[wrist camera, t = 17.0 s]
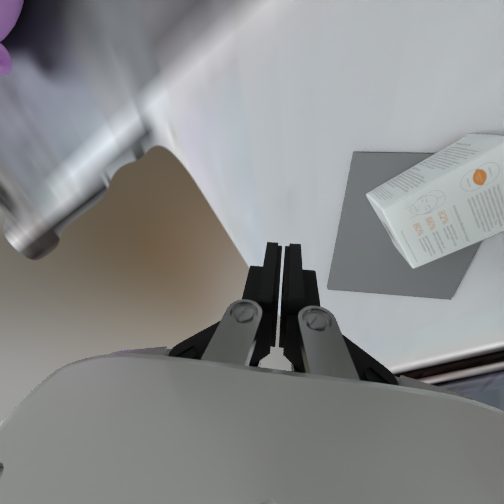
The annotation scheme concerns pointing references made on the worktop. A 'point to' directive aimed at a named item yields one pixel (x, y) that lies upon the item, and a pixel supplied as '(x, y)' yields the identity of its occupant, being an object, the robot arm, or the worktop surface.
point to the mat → (385, 239)
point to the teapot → (7, 29)
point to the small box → (445, 200)
